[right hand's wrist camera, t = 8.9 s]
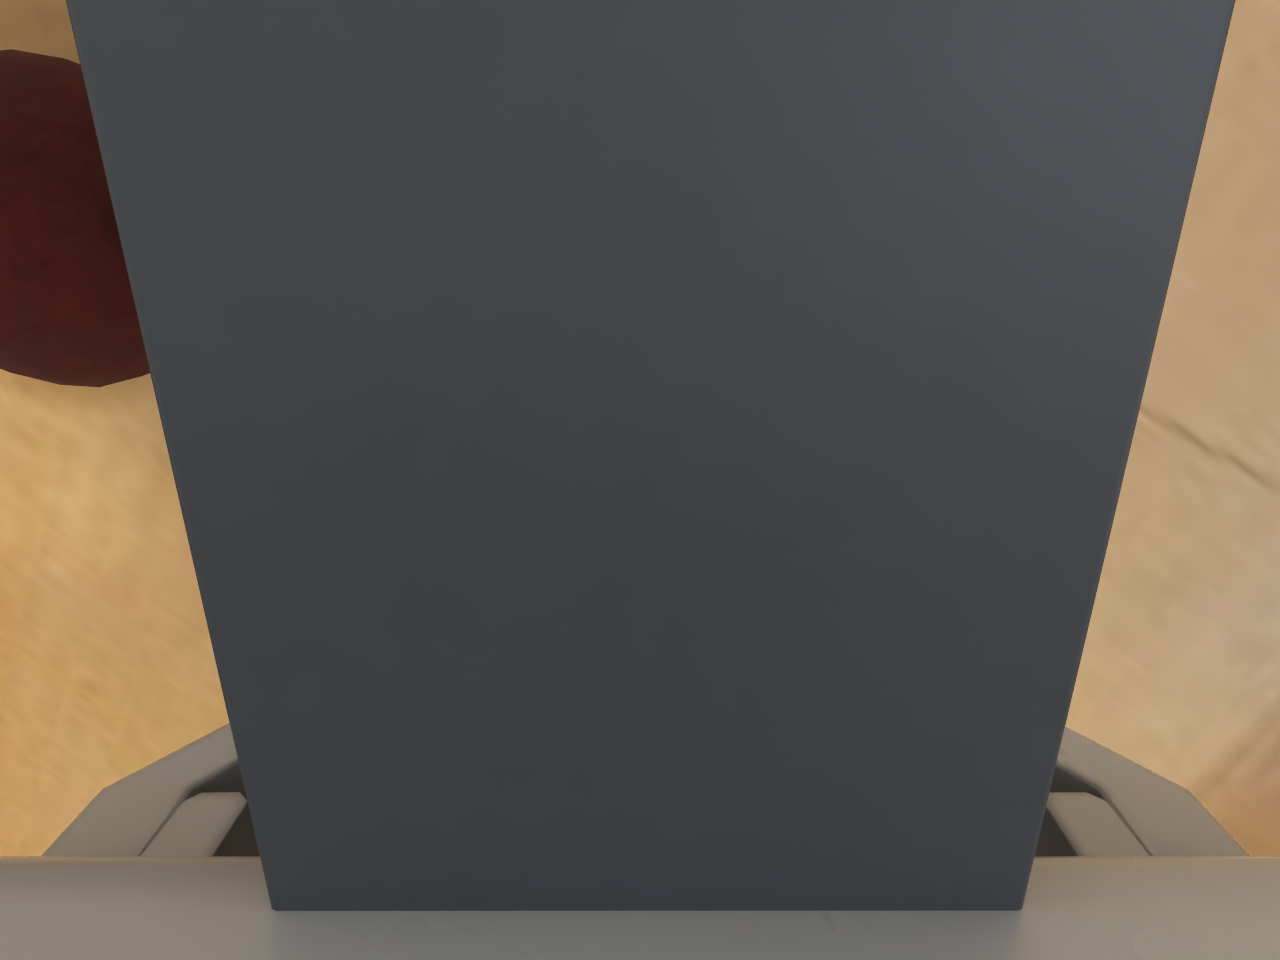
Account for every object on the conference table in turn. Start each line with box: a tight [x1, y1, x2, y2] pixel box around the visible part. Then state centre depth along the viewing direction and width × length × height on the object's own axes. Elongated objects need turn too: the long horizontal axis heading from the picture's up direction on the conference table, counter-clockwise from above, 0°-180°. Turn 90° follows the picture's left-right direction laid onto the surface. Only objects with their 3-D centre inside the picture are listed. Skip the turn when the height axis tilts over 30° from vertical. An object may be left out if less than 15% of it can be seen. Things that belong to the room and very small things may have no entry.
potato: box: [0, 50, 150, 387], centre depth 18 cm, size 7×8×7 cm
